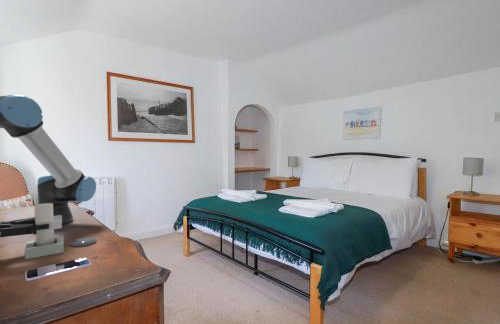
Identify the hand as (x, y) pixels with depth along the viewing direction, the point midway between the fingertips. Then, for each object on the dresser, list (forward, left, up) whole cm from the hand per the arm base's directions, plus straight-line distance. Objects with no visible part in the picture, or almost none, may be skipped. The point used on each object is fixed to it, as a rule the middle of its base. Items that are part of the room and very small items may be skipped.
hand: (61, 221), depth 94 cm
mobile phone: (+17, +11, -10) cm, 22 cm away
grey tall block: (+3, -4, -10) cm, 11 cm away
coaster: (-5, +4, -10) cm, 12 cm away
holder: (+3, -4, -10) cm, 11 cm away
